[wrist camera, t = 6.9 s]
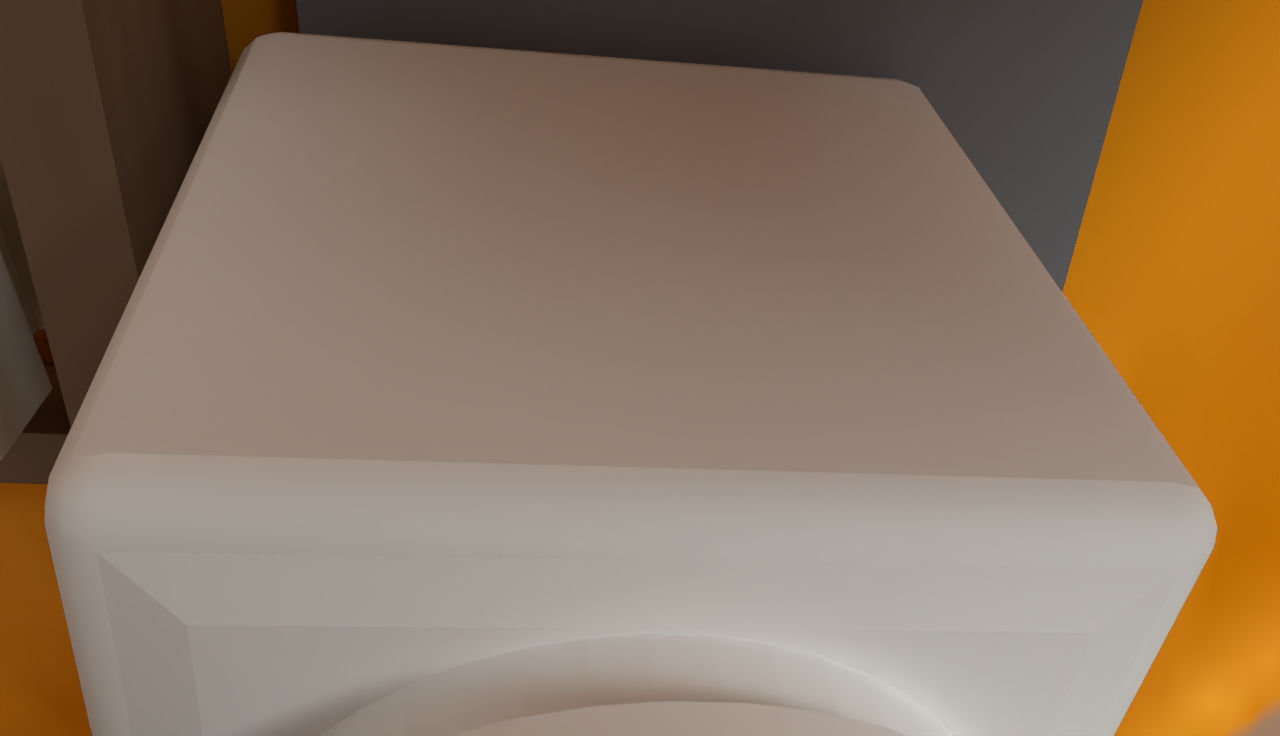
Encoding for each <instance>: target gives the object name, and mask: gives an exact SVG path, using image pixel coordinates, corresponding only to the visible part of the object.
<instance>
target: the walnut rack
mask: <svg viewBox="0 0 1280 736" xmlns="http://www.w3.org/2000/svg"><path fill="white" fill-rule="evenodd" d="M230 77H231V72H230V65H229V58H228V51H227V44H226V37H225V30H224V23H223V16H222V9H221V2H220V0H0V158H1V162H2V166H3V170H4V173H5V177H6V181H7V185H8V189H9V193H10V196H11V200H12V204H13V208H14V212H15V216H16V219H17V223H18V227H19V231H20V235H21V239H22V242H23V246H24V250H25V254H26V258H27V261H28V265H29V269H30V273H31V277H32V281H33V284H34V288H35V292H36V296H37V300H38V304H39V307H40V311H41V315H42V319H43V323H44V327H45V330H46V334H47V338H48V342H49V346H50V350H51V353H52V357H53V361H54V365H44V367H45V370H46V372H47V375H48V378H49V380H50V383H51V386H52V390H51V391H50V393H49V394H48V395H47V397H46V398H45V400H44V401H43V403H42V404H41V405H40V407H39V408H38V410H37V411H36V412H35V414H34V415H33V417H32V418H31V420H30V421H29V422H28V424H27V425H26V427H25V428H24V430H23V431H22V432H21V434H20V435H19V437H18V438H17V439H16V441H15V442H14V444H13V445H12V447H11V448H10V449H9V451H8V452H7V454H6V455H5V457H4V458H3V459H2V460H0V482H5V483H33V484H48V479H49V475H50V473H51V471H52V469H53V467H54V464H55V462H56V460H57V458H58V456H59V453H60V451H61V449H62V447H63V445H64V442H65V440H66V438H67V436H68V434H69V431H70V429H71V427H72V425H73V423H74V420H75V418H76V416H77V414H78V412H79V409H80V407H81V405H82V403H83V401H84V398H85V396H86V394H87V392H88V390H89V387H90V385H91V383H92V381H93V379H94V376H95V374H96V372H97V370H98V368H99V365H100V363H101V361H102V359H103V357H104V354H105V352H106V350H107V348H108V346H109V343H110V341H111V339H112V337H113V335H114V332H115V330H116V328H117V326H118V324H119V321H120V319H121V317H122V315H123V313H124V310H125V308H126V306H127V304H128V302H129V299H130V297H131V295H132V293H133V291H134V288H135V286H136V284H137V282H138V280H139V277H140V275H141V273H142V271H143V269H144V266H145V264H146V262H147V260H148V258H149V255H150V253H151V251H152V249H153V247H154V244H155V242H156V240H157V238H158V236H159V233H160V231H161V229H162V227H163V225H164V222H165V220H166V218H167V216H168V214H169V211H170V209H171V207H172V205H173V203H174V200H175V198H176V196H177V194H178V192H179V189H180V187H181V185H182V183H183V181H184V178H185V176H186V174H187V172H188V170H189V167H190V165H191V163H192V161H193V159H194V156H195V154H196V152H197V150H198V148H199V145H200V143H201V141H202V139H203V137H204V134H205V132H206V130H207V128H208V126H209V123H210V121H211V119H212V117H213V115H214V112H215V110H216V108H217V106H218V104H219V102H220V99H221V97H222V95H223V93H224V91H225V88H226V86H227V84H228V82H229V80H230Z"/></svg>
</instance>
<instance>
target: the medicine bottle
mask: <svg viewBox="0 0 1280 736" xmlns="http://www.w3.org/2000/svg"><path fill="white" fill-rule="evenodd" d="M44 525H45V529H46V534H47V538H48V543H49V547H50V551H51V556H52V560H53V565H54V569H55V574H56V578H57V582H58V587H59V591H60V596H61V600H62V605H63V609H64V613H65V618H66V622H67V627H68V631H69V636H70V640H71V645H72V649H73V653H74V658H75V662H76V667H77V671H78V676H79V680H80V684H81V689H82V693H83V698H84V702H85V707H86V711H87V716H88V720H89V724H90V729H91V733H92V736H1114V734H1115V732H1116V730H1117V728H1118V726H1119V725H1120V723H1121V721H1122V719H1123V717H1124V715H1125V713H1126V711H1127V710H1128V708H1129V706H1130V704H1131V702H1132V700H1133V698H1134V696H1135V695H1136V693H1137V691H1138V689H1139V687H1140V685H1141V683H1142V681H1143V679H1144V678H1145V676H1146V674H1147V672H1148V670H1149V668H1150V666H1151V664H1152V663H1153V661H1154V659H1155V657H1156V655H1157V653H1158V651H1159V649H1160V648H1161V646H1162V644H1163V642H1164V640H1165V638H1166V636H1167V634H1168V632H1169V631H1170V629H1171V627H1172V625H1173V623H1174V621H1175V619H1176V617H1177V616H1178V614H1179V612H1180V610H1181V608H1182V606H1183V604H1184V602H1185V601H1186V599H1187V597H1188V595H1189V593H1190V591H1191V589H1192V587H1193V586H1194V584H1195V582H1196V580H1197V578H1198V576H1199V574H1200V572H1201V570H1202V569H1203V567H1204V565H1205V563H1206V561H1207V559H1208V557H1209V555H1210V554H1211V552H1212V550H1213V548H1214V544H1215V539H1216V534H1217V525H1216V521H1215V517H1214V513H1213V510H1212V506H1211V504H1210V503H1209V501H1208V500H1207V498H1206V497H1205V496H1204V494H1203V493H1202V491H1201V490H1200V488H1199V487H1198V486H1197V484H1196V483H1195V481H1194V480H1193V478H1192V477H1191V476H1190V474H1189V473H1188V471H1187V470H1186V468H1185V467H1184V466H1183V464H1182V463H1181V461H1180V460H1179V458H1178V457H1177V456H1176V454H1175V453H1174V451H1173V450H1172V448H1171V447H1170V446H1169V444H1168V443H1167V441H1166V440H1165V438H1164V437H1163V436H1162V434H1161V433H1160V431H1159V430H1158V428H1157V427H1156V426H1155V424H1154V423H1153V421H1152V420H1151V418H1150V417H1149V416H1148V414H1147V413H1146V411H1145V410H1144V409H1143V407H1142V406H1141V404H1140V403H1139V401H1138V400H1137V399H1136V397H1135V396H1134V394H1133V393H1132V391H1131V390H1130V389H1129V387H1128V386H1127V384H1126V383H1125V381H1124V380H1123V379H1122V377H1121V376H1120V374H1119V373H1118V371H1117V370H1116V369H1115V367H1114V366H1113V364H1112V363H1111V361H1110V360H1109V359H1108V357H1107V356H1106V354H1105V353H1104V351H1103V350H1102V349H1101V347H1100V346H1099V344H1098V343H1097V341H1096V340H1095V339H1094V337H1093V336H1092V334H1091V333H1090V331H1089V330H1088V329H1087V327H1086V326H1085V324H1084V323H1083V321H1082V320H1081V319H1080V317H1079V316H1078V314H1077V313H1076V311H1075V310H1074V309H1073V307H1072V306H1071V304H1070V303H1069V301H1068V300H1067V299H1066V297H1065V296H1064V294H1063V293H1062V291H1061V290H1060V289H1059V287H1058V286H1057V284H1056V283H1055V281H1054V280H1053V279H1052V277H1051V276H1050V274H1049V273H1048V271H1047V270H1046V269H1045V267H1044V266H1043V264H1042V263H1041V261H1040V260H1039V259H1038V257H1037V256H1036V254H1035V253H1034V251H1033V250H1032V249H1031V247H1030V246H1029V244H1028V243H1027V241H1026V240H1025V239H1024V237H1023V236H1022V234H1021V233H1020V231H1019V230H1018V229H1017V227H1016V226H1015V224H1014V223H1013V221H1012V220H1011V219H1010V217H1009V216H1008V214H1007V213H1006V211H1005V210H1004V209H1003V207H1002V206H1001V204H1000V203H999V201H998V200H997V199H996V197H995V196H994V194H993V193H992V191H991V190H990V189H989V187H988V186H987V184H986V183H985V181H984V180H983V179H982V177H981V176H980V174H979V173H978V171H977V170H976V169H975V167H974V166H973V164H972V163H971V161H970V160H969V159H968V157H967V156H966V154H965V153H964V151H963V150H962V149H961V147H960V146H959V144H958V143H957V141H956V140H955V139H954V137H953V136H952V134H951V133H950V131H949V130H948V129H947V127H946V126H945V124H944V123H943V121H942V120H941V119H940V117H939V116H938V114H937V113H936V111H935V110H934V109H933V107H932V106H931V104H930V103H929V101H928V100H927V99H926V97H925V96H924V94H923V93H922V91H921V90H920V89H919V87H917V86H914V85H912V84H909V83H907V82H904V81H901V80H898V79H891V78H878V77H865V76H852V75H839V74H826V73H813V72H799V71H786V70H773V69H760V68H747V67H734V66H721V65H708V64H695V63H681V62H668V61H655V60H642V59H629V58H616V57H603V56H590V55H577V54H564V53H550V52H537V51H524V50H511V49H498V48H485V47H472V46H459V45H446V44H432V43H419V42H406V41H393V40H380V39H367V38H354V37H341V36H328V35H315V34H301V33H288V32H275V33H270V34H264V35H261V36H258V37H256V38H255V39H254V40H253V41H252V42H251V43H250V44H249V45H248V46H246V47H245V48H244V49H243V51H242V53H241V55H240V58H239V60H238V62H237V64H236V66H235V69H234V71H233V73H232V75H231V77H230V80H229V82H228V84H227V86H226V88H225V91H224V93H223V95H222V97H221V99H220V102H219V104H218V106H217V108H216V110H215V112H214V115H213V117H212V119H211V121H210V123H209V126H208V128H207V130H206V132H205V134H204V137H203V139H202V141H201V143H200V145H199V148H198V150H197V152H196V154H195V156H194V159H193V161H192V163H191V165H190V167H189V170H188V172H187V174H186V176H185V178H184V181H183V183H182V185H181V187H180V189H179V192H178V194H177V196H176V198H175V200H174V203H173V205H172V207H171V209H170V211H169V214H168V216H167V218H166V220H165V222H164V225H163V227H162V229H161V231H160V233H159V236H158V238H157V240H156V242H155V244H154V247H153V249H152V251H151V253H150V255H149V258H148V260H147V262H146V264H145V266H144V269H143V271H142V273H141V275H140V277H139V280H138V282H137V284H136V286H135V288H134V291H133V293H132V295H131V297H130V299H129V302H128V304H127V306H126V308H125V310H124V313H123V315H122V317H121V319H120V321H119V324H118V326H117V328H116V330H115V332H114V335H113V337H112V339H111V341H110V343H109V346H108V348H107V350H106V352H105V354H104V357H103V359H102V361H101V363H100V365H99V368H98V370H97V372H96V374H95V376H94V379H93V381H92V383H91V385H90V387H89V390H88V392H87V394H86V396H85V398H84V401H83V403H82V405H81V407H80V409H79V412H78V414H77V416H76V418H75V420H74V423H73V425H72V427H71V429H70V431H69V434H68V436H67V438H66V440H65V442H64V445H63V447H62V449H61V451H60V453H59V456H58V458H57V460H56V462H55V464H54V467H53V469H52V471H51V473H50V475H49V479H48V486H47V492H46V498H45V521H44Z"/></svg>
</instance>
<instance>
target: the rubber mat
mask: <svg viewBox="0 0 1280 736" xmlns="http://www.w3.org/2000/svg"><path fill="white" fill-rule="evenodd" d="M1142 1H1143V0H296V5H297V14H298V24H299V33H301V34H315V35H328V36H341V37H354V38H367V39H380V40H393V41H406V42H419V43H432V44H446V45H459V46H472V47H485V48H498V49H511V50H524V51H537V52H550V53H564V54H577V55H590V56H603V57H616V58H629V59H642V60H655V61H668V62H681V63H695V64H708V65H721V66H734V67H747V68H760V69H773V70H786V71H799V72H813V73H826V74H839V75H852V76H865V77H878V78H891V79H898V80H901V81H904V82H907V83H909V84H912V85H914V86H917V87H919V89H920V90H921V91H922V93H923V94H924V96H925V97H926V99H927V100H928V101H929V103H930V104H931V106H932V107H933V109H934V110H935V111H936V113H937V114H938V116H939V117H940V119H941V120H942V121H943V123H944V124H945V126H946V127H947V129H948V130H949V131H950V133H951V134H952V136H953V137H954V139H955V140H956V141H957V143H958V144H959V146H960V147H961V149H962V150H963V151H964V153H965V154H966V156H967V157H968V159H969V160H970V161H971V163H972V164H973V166H974V167H975V169H976V170H977V171H978V173H979V174H980V176H981V177H982V179H983V180H984V181H985V183H986V184H987V186H988V187H989V189H990V190H991V191H992V193H993V194H994V196H995V197H996V199H997V200H998V201H999V203H1000V204H1001V206H1002V207H1003V209H1004V210H1005V211H1006V213H1007V214H1008V216H1009V217H1010V219H1011V220H1012V221H1013V223H1014V224H1015V226H1016V227H1017V229H1018V230H1019V231H1020V233H1021V234H1022V236H1023V237H1024V239H1025V240H1026V241H1027V243H1028V244H1029V246H1030V247H1031V249H1032V250H1033V251H1034V253H1035V254H1036V256H1037V257H1038V259H1039V260H1040V261H1041V263H1042V264H1043V266H1044V267H1045V269H1046V270H1047V271H1048V273H1049V274H1050V276H1051V277H1052V279H1053V280H1054V281H1055V283H1056V284H1057V286H1058V287H1059V289H1060V290H1061V291H1062V290H1063V286H1064V283H1065V279H1066V276H1067V272H1068V268H1069V265H1070V261H1071V258H1072V254H1073V250H1074V247H1075V243H1076V239H1077V236H1078V232H1079V229H1080V225H1081V221H1082V218H1083V214H1084V211H1085V207H1086V203H1087V200H1088V196H1089V192H1090V189H1091V185H1092V182H1093V178H1094V174H1095V171H1096V167H1097V164H1098V160H1099V156H1100V153H1101V149H1102V145H1103V142H1104V138H1105V135H1106V131H1107V127H1108V124H1109V120H1110V117H1111V113H1112V109H1113V106H1114V102H1115V98H1116V95H1117V91H1118V88H1119V84H1120V80H1121V77H1122V73H1123V69H1124V66H1125V62H1126V59H1127V55H1128V51H1129V48H1130V44H1131V41H1132V37H1133V33H1134V30H1135V26H1136V22H1137V19H1138V15H1139V12H1140V8H1141V4H1142Z"/></svg>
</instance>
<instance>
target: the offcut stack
mask: <svg viewBox="0 0 1280 736" xmlns="http://www.w3.org/2000/svg"><path fill="white" fill-rule="evenodd" d="M38 329H45V327H44V323H43V319H42V315H41V311H40V307H39V304H38V300H37V296H36V292H35V288H34V284H33V281H32V277H31V273H30V269H29V265H28V261H27V258H26V254H25V250H24V246H23V242H22V239H21V235H20V231H19V227H18V223H17V219H16V216H15V212H14V208H13V204H12V200H11V196H10V193H9V189H8V185H7V181H6V177H5V173H4V170H3V166H2V162H1V158H0V460H2V459H3V458H4V457H5V455H6V454H7V452H8V451H9V449H10V448H11V447H12V445H13V444H14V442H15V441H16V439H17V438H18V437H19V435H20V434H21V432H22V431H23V430H24V428H25V427H26V425H27V424H28V422H29V421H30V420H31V418H32V417H33V415H34V414H35V412H36V411H37V410H38V408H39V407H40V405H41V404H42V403H43V401H44V400H45V398H46V397H47V395H48V394H49V393H50V391H51V390H52V386H51V383H50V380H49V378H48V375H47V372H46V370H45V367H44V365H43V362H42V359H41V357H40V354H39V351H38V349H37V346H36V343H35V341H34V338H33V336H34V334H35V333H36V332H37V330H38Z"/></svg>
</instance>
